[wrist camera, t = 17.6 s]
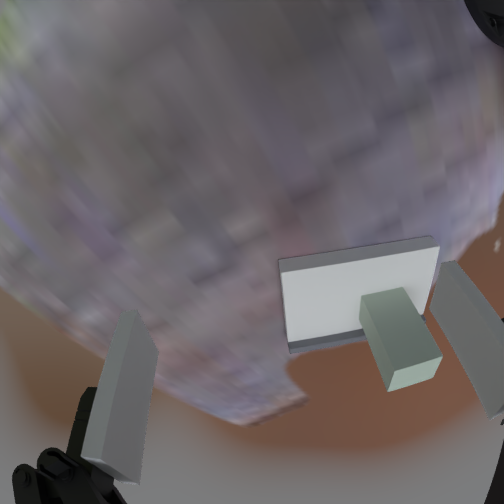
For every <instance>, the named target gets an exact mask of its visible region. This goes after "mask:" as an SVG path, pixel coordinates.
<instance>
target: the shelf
mask: <svg viewBox="0 0 504 504" xmlns="http://www.w3.org/2000/svg"><path fill="white" fill-rule="evenodd" d="M439 248H440V246H439V245H438V244H437V242H436V241H435V240H434V239H433V238H432V237H431V236H426V237H420V238H414V239H408V240H402V241H396V242H389V243H383V244H377V245H371V246H364V247H358V248H352V249H345V250H339V251H332V252H326V253H319V254H313V255H306V256H300V257H293V258H287V259H280V260H278V262H279V271H280V280H281V289H282V299H283V308H284V318H285V328H286V336H287V341H288V347H289V352H290V354H292V353H299V352H305V351H310V350H316V349H322V348H327V347H332V346H337V345H342V344H347V343H352V342H357V341H361V340H366V339H367V338H366V335H365V333H364V330H363V328H362V326H361V323H360V321H359V312H360V302H361V296H362V295H367V294H372V293H376V292H381V291H386V290H390V289H395V288H399V287H403V288H404V290H405V291H406V293H407V294H408V296H409V298H410V299H411V301H412V303H413V304H414V306H415V308H416V309H417V311H418V313H419V314H420V316H421V318H422V319H423V321H424V323H426V319H425V317H424V315H423V312H424V309H425V305H426V302H427V298H428V294H429V291H430V287H431V283H432V279H433V275H434V271H435V267H436V262H437V258H438V253H439Z"/></svg>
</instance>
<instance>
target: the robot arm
mask: <svg viewBox="0 0 504 504" xmlns="http://www.w3.org/2000/svg"><path fill="white" fill-rule="evenodd" d="M465 2H466V4H467V7H468V9H469V11H470V13H471V15H472V17H473V18H474V20H475V22H476V23H477V25H478V26H479V27H480V29H481V30H482V31H483V32H484V33H485V35H486V36H487V37H488V38H490V39H491V40H492V41H493V42H495V43H496V44H498V45H500V46H502V47H504V0H465ZM429 309H430V311H431V312H432V314H433V315H434V317H435V319H436V320H437V322H438V324H439V325H440V327H441V329H442V330H443V332H444V334H445V335H446V337H447V339H448V341H449V342H450V344H451V346H452V348H453V350H454V351H455V353H456V355H457V357H458V358H459V360H460V362H461V364H462V366H463V368H464V370H465V372H466V374H467V376H468V377H469V379H470V381H471V383H472V385H473V387H474V389H475V391H476V393H477V395H478V397H479V399H480V401H481V404H482V406H483V408H484V410H485V412H486V414H487V416H488V418H489V420H491V419H493V418H495V417H497V416H499V415H500V414H502V413H503V412H504V318H502V319H500V317H499V316H498V315H497V313H496V312H495V310H494V309H493V308H492V306H491V305H490V304H489V302H488V301H487V300H486V298H485V297H484V296H483V295H482V293H481V292H480V291H479V289H478V288H477V287H476V286H475V285H474V283H473V282H472V281H471V279H470V278H469V277H468V276H467V275H466V273H464V271H463V270H462V269H461V267H460V266H459V265H458V264H457V263H456V261H455V260H453V261H448V262H444V263H441V267H440V271H439V275H438V279H437V283H436V286H435V290H434V294H433V297H432V301H431V304H430V308H429ZM158 354H159V351H158V349H157V347H156V345H155V343H154V341H153V340H152V338H151V336H150V334H149V332H148V330H147V328H146V326H145V324H144V322H143V320H142V318H141V316H140V314H139V312H138V310H131V311H122V312H121V315H120V317H119V320H118V323H117V326H116V329H115V332H114V335H113V338H112V341H111V344H110V347H109V351H108V354H107V357H106V360H105V364H104V367H103V370H102V374H101V377H100V381H99V384H98V387H88V388H87V389H86V391H85V392H84V394H83V395H82V396H81V398H80V402H79V405H78V411H77V412H76V416H75V421H74V423H73V427H72V431H71V435H70V439H69V443H68V447H67V451H66V454H65V453H64V452H62V451H61V450H59V449H58V448H52V447H51V448H48V449H45V450H44V451H43V452H42V453H41V454H40V456H39V458H38V460H37V469H34V468H33V467H31V466H29V465H28V464H21V465H19V466H17V467H16V469H15V470H14V472H13V475H12V483H13V490H14V497H15V503H16V504H127V503H126V502H125V500H124V499H123V497H122V496H121V494H120V493H119V491H118V490H117V488H116V487H115V486H114V485H113V482H114V478H115V479H116V480H118V481H119V482H121V483H128V484H136V485H139V484H140V477H141V468H142V458H143V450H144V443H145V435H146V427H147V421H148V414H149V407H150V401H151V395H152V389H153V383H154V377H155V371H156V365H157V360H158ZM503 424H504V419H503V420H502V422H501V425H503ZM484 504H504V441H503V445H502V449H501V453H500V457H499V460H498V464H497V467H496V471H495V474H494V477H493V480H492V483H491V486H490V489H489V492H488V495H487V497H486V500H485V503H484Z"/></svg>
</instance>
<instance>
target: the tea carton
mask: <svg viewBox="0 0 504 504" xmlns="http://www.w3.org/2000/svg"><path fill="white" fill-rule="evenodd" d="M359 321H360V323H361V326H362V328H363V330H364V333H365V335H366V338H367V340H368V343H369V345H370V348H371V350H372V353H373V355H374V358H375V360H376V362H377V365H378V368H379V371H380V373H381V376H382V379H383V381H384V384H385V387H386V389H387V392H389V391H392V390H396V389H400V388H402V387H406V386H409V385H412V384H416V383H419V382H421V381H424V380H427V379H430V378H432V377H433V376H434V374H435V372H436V370H437V368H438V366H439V363H440V361H441V359H442V357H443V355H442V353H441V351H440V350H439V348H438V346H437V344H436V342H435V340H434V339H433V337H432V335H431V333H430V332H429V330H428V328H427V326H426V325H425V323H424V321H423V319H422V318H421V316H420V314H419V313H418V311H417V309H416V308H415V306H414V304H413V303H412V301H411V299H410V298H409V296H408V294H407V293H406V291H405V290H404V288H403V287H399V288H395V289H390V290H386V291H381V292H376V293H372V294H367V295H362V296H361V302H360V312H359Z"/></svg>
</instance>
